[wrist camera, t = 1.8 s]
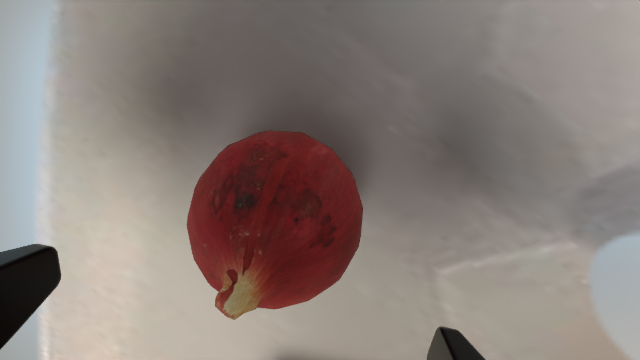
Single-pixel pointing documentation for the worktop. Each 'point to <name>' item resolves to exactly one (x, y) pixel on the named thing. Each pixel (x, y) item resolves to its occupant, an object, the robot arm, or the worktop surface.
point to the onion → (274, 221)
